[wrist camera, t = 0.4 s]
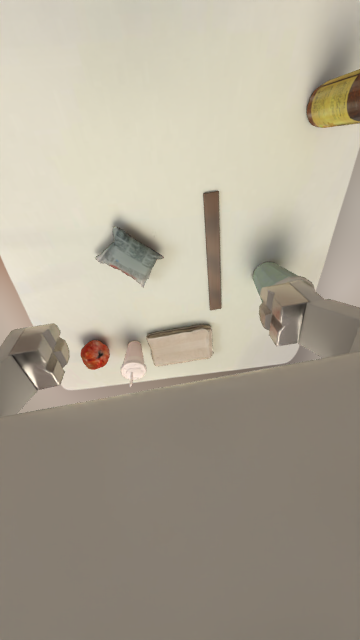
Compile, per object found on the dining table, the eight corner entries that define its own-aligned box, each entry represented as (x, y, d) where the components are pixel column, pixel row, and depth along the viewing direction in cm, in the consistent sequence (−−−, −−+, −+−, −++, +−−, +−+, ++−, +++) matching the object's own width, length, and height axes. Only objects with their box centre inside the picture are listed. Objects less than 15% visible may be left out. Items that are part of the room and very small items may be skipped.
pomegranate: (103, 353, 73) (122, 355, 66) (85, 373, 69) (104, 377, 62) (86, 335, 70) (105, 335, 63) (67, 355, 65) (85, 357, 59)
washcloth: (212, 352, 75) (214, 359, 73) (154, 363, 75) (154, 370, 72) (210, 321, 68) (212, 328, 66) (145, 332, 68) (145, 340, 65)
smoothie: (118, 343, 69) (113, 383, 57) (138, 333, 68) (137, 372, 56) (131, 357, 72) (129, 397, 61) (150, 348, 71) (151, 387, 60)
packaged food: (142, 282, 59) (143, 292, 55) (95, 255, 54) (92, 264, 50) (163, 252, 55) (165, 261, 51) (115, 220, 50) (113, 227, 46)
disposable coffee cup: (272, 295, 66) (301, 330, 54) (235, 287, 63) (258, 322, 51) (293, 258, 60) (331, 287, 48) (254, 247, 57) (284, 276, 45)
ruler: (203, 193, 49) (203, 193, 49) (218, 191, 49) (218, 191, 49) (209, 309, 66) (210, 310, 65) (221, 307, 66) (221, 308, 66)
